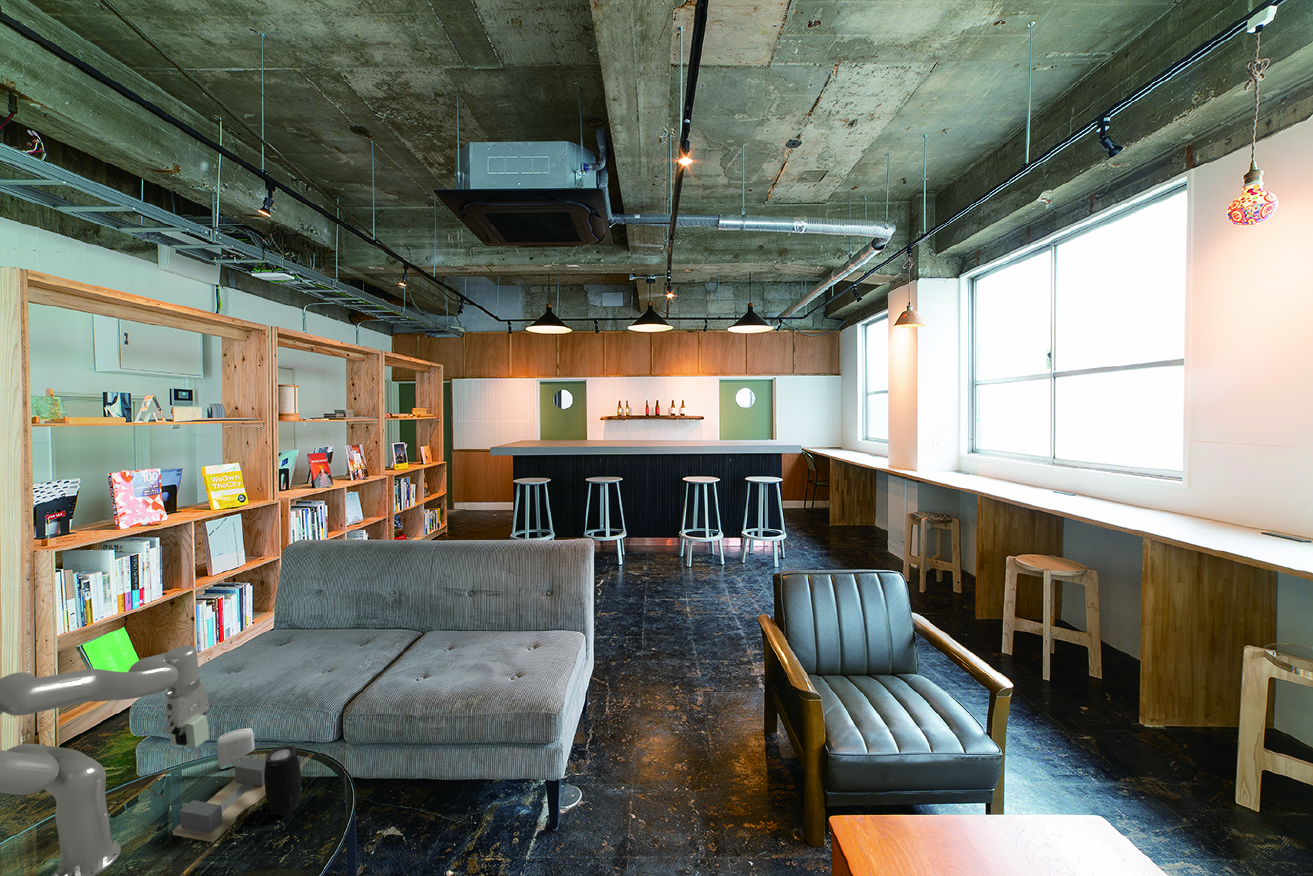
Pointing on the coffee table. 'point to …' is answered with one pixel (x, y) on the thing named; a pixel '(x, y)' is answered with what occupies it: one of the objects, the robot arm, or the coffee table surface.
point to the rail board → (223, 803)
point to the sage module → (194, 732)
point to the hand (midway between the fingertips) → (189, 738)
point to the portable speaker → (282, 780)
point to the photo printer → (234, 745)
